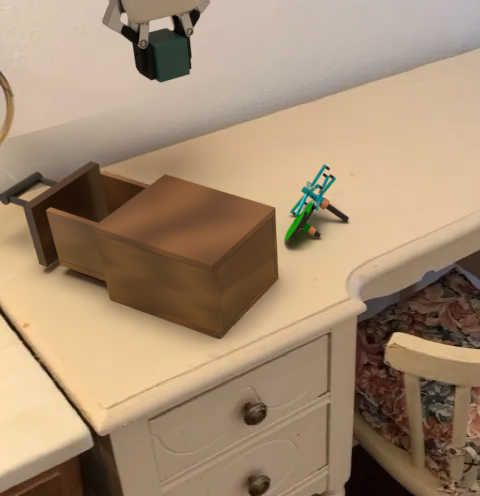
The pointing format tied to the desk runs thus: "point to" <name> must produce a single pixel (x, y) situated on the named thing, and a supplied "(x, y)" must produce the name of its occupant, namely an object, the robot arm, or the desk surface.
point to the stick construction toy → (312, 206)
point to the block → (169, 54)
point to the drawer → (72, 214)
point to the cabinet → (189, 254)
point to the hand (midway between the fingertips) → (165, 69)
